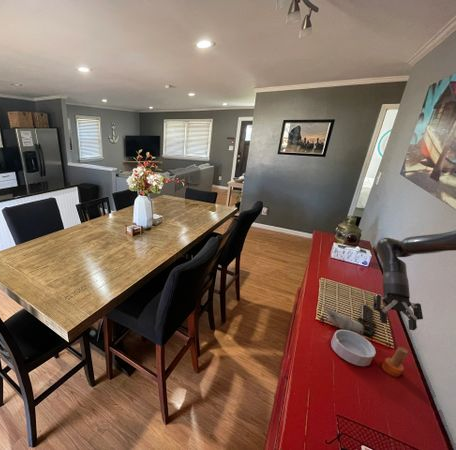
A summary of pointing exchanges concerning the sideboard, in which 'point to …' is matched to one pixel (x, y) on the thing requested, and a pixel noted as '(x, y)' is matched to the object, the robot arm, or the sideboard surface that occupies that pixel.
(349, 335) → the bowl
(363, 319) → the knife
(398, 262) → the robot arm
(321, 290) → the sideboard surface
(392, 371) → the brush
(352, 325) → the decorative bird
